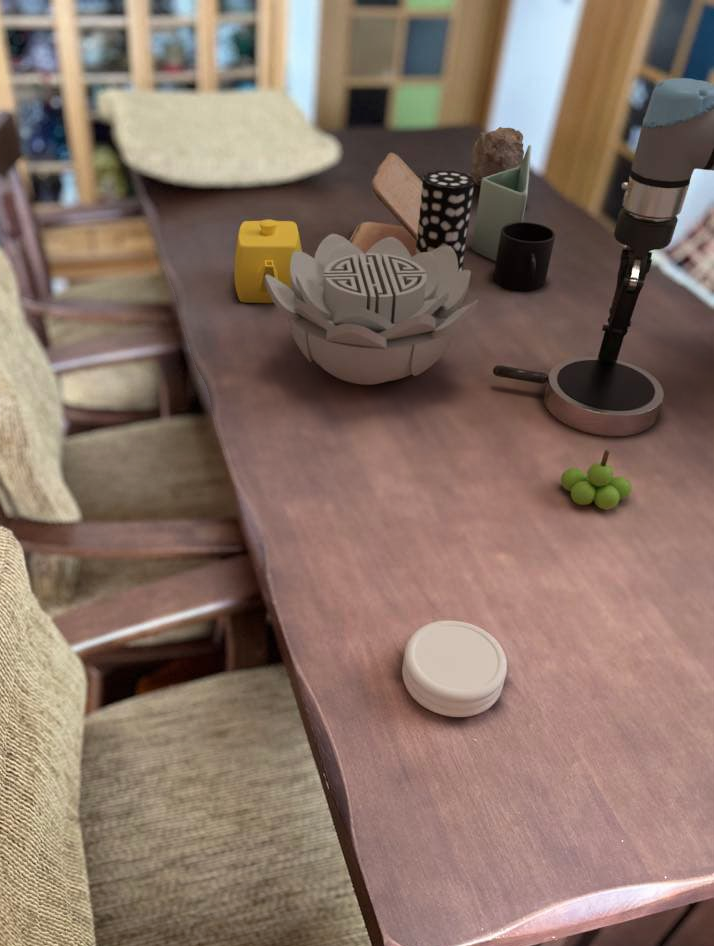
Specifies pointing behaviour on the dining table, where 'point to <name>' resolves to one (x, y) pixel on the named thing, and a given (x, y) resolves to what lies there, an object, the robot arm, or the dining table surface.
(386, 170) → the case
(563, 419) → the pan
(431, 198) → the spotted tube
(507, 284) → the mug
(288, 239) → the teapot
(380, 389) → the dining table surface
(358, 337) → the decorative bowl
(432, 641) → the round cream tin
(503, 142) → the stone
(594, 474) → the grapes
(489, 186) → the green magazine holder
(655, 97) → the robot arm
